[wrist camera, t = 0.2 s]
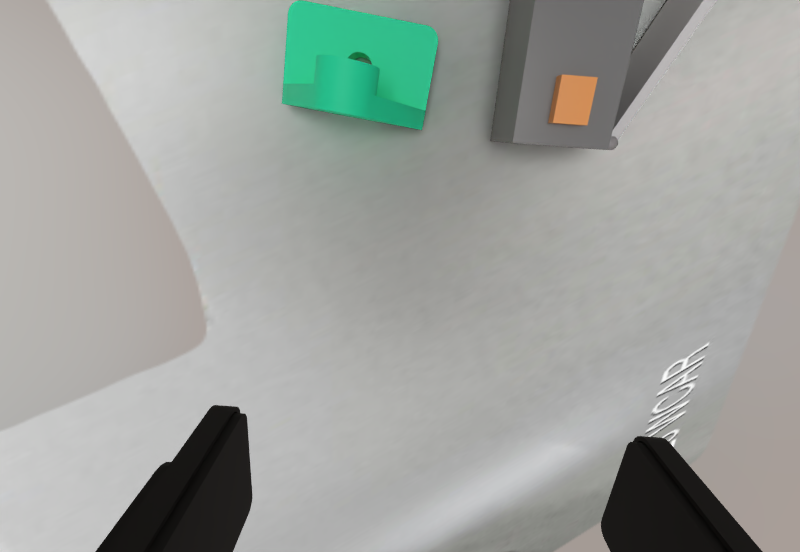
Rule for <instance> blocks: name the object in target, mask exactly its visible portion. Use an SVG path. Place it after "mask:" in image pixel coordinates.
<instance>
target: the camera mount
mask: <svg viewBox="0 0 800 552" xmlns="http://www.w3.org/2000/svg"><path fill="white" fill-rule="evenodd" d="M437 45H438V36H437V33H436V32H435V30H434V29H433V28H432V27H430V26H427V25H422V24H417V23H412V22H407V21H402V20H397V19H392V18H387V17H382V16H377V15H372V14H367V13H362V12H357V11H352V10H347V9H342V8H337V7H332V6H327V5H322V4H317V3H312V2H307V1H302V0H300V1H296V2H294V3H293V4H292V5H291V6H290V8H289V11H288V23H287V38H286V52H285V67H284V82H283V97H282V104H287V105H292V106H297V107H302V108H308V109H313V110H318V111H323V112H329V113H333V114H339V115H344V116H349V117H354V118H360V119H365V120H370V121H376V122H381V123H387V124H392V125H398V126H403V127H408V128H413V129H419V130H422V127H423V122H424V116H425V111H426V105H427V100H428V94H429V89H430V84H431V78H432V73H433V67H434V62H435V56H436V51H437ZM360 57H363V58H366V59H368V60H370V61H371V63H372V65H371V64H368V63H364V62H361V61H357V60H355V59H357V58H360Z"/></svg>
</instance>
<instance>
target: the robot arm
mask: <svg viewBox="0 0 800 552" xmlns="http://www.w3.org/2000/svg"><path fill="white" fill-rule="evenodd" d="M251 503H252V485H251V470H250V456H249V441H248V427H247V416H246V414H241V413H240V409H239V408H238V407H232V406H218V405H214V406H212V407H211V408H210V409H209V411H208V412H207V413H206V415H205V416H204V418H203V419H202V420H201V422H200V423H199V425H198V426H197V427H196V429H195V430H194V432H193V433H192V434H191V436H190V437H189V439H188V440H187V441H186V443H185V444H184V446H183V447H182V448H181V450H180V451H179V453H178V454H177V455H176V457H175V458H174V459H173V461H172V462H165V463H164V464H162V465H161V466H160V467H159V468H158V469H157V470H156V471H155V473H154V474H153V475H152V477H151V478H150V479H149V481H148V482H147V483H146V485H145V486H144V487H143V489H142V490H141V491H140V493H139V494H138V495H137V497H136V498H135V499H134V501H133V502H132V503H131V505H130V506H129V507H128V509H127V510H126V511H125V513H124V514H123V516H122V517H121V518H120V520H119V521H118V522H117V524H116V525H115V526H114V528H113V529H112V530H111V532H110V533H109V534H108V536H107V537H106V538H105V540H104V541H103V542H102V544H101V545H100V546H99V548H98V549H97V550H96V552H233V550H234V547H235V545H236V543H237V540H238V538H239V535H240V533H241V531H242V528H243V526H244V523H245V521H246V519H247V516H248V514H249V511H250V507H251ZM601 529H602V534H603V537H604V539H605V541H606V543H607V545H608V547H609V549H610V551H611V552H762V551H761V550H760V548H759V547H758V546H757V545H756V544H755V543H754V541H753V540H752V539H751V538H750V537H749V535H748V534H747V533H746V532H745V531H744V530H743V528H742V527H741V526H740V525H739V524H738V523H737V521H736V520H735V519H734V518H733V517H732V516H731V514H730V513H729V512H728V511H727V510H726V509H725V507H724V506H723V505H722V504H721V503H720V501H719V500H718V499H717V498H716V497H715V496H714V494H713V493H712V492H711V491H710V490H709V488H707V486H706V485H705V484H704V483H703V481H702V480H701V479H700V478H699V477H698V476H697V474H696V473H695V472H694V471H693V470H692V469H691V467H690V466H689V465H688V464H687V463H686V462H685V460H684V459H683V458H682V457H681V456H680V454H679V453H678V452H677V451H676V450H675V449H674V447H673V446H672V445H671V444H670V443H669V442H668V441H667V440H666V439H664V438H657V437H643V436H638V437H636V438H635V439H634V441H633V442H630V443H629V444H628V445H627V448H626V451H625V454H624V456H623V459H622V462H621V465H620V468H619V471H618V474H617V477H616V480H615V482H614V485H613V488H612V491H611V494H610V497H609V500H608V503H607V506H606V509H605V511H604V514H603V517H602V521H601Z"/></svg>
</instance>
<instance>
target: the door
mask: <svg viewBox="0 0 800 552" xmlns="http://www.w3.org/2000/svg"><path fill="white" fill-rule="evenodd" d="M716 1H717V0H667V2H666V3H665V4H664V6H663V7H662V9H661V10H660V12H659V13H658V15H657V16H656V18H655V19H654V21H653V22H652V24H651V25H650V27H649V28H648V30H647V31H646V33H645V34H644V36H643V37H642V39H641V40H640V42H639V43H638V45H637V46H636V48H635V49H634V51H633V52H632V54H631V56H630V60H629V65H628V69H627V73H626V77H625V81H624V85H623V90H622V94H621V98H620V102H619V106H618V110H617V115H616V119H615V123H614V127H613V131H612V136H611V140H610V144H609V148H608V150H613V149H614V148H616V146H617V145H618V140H619V138H620V137H621V135H622V134H623V132H624V131H625V130H626V128H627V127H628V125H629V124H630V123H631V121H632V120H633V118H634V117H635V116H636V114H637V113H638V111H639V110H640V108H641V107H642V106H643V104H644V103H645V101H646V100H647V99H648V97H649V96H650V94H651V93H652V91H653V90H654V89H655V87H656V86H657V84H658V83H659V82H660V80H661V79H662V77H663V76H664V75H665V73H666V72H667V70H668V69H669V67H670V66H671V65H672V63H673V62H674V60H675V59H676V58H677V56H678V55H679V53H680V52H681V51H682V49H683V48H684V46H685V45H686V43H687V42H688V41H689V39H690V38H691V36H692V35H693V34H694V32H695V31H696V29H697V28H698V26H699V25H700V24H701V22H702V21H703V19H704V18H705V17H706V15H707V14H708V12H709V11H710V10H711V8H712V7H713V5H714V4H715V2H716Z"/></svg>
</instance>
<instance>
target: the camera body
mask: <svg viewBox="0 0 800 552" xmlns="http://www.w3.org/2000/svg"><path fill="white" fill-rule="evenodd" d="M643 2H644V0H510V6H509V13H508V20H507V27H506V34H505V41H504V48H503V55H502V62H501V69H500V77H499V84H498V91H497V98H496V105H495V112H494V119H493V126H492V133H491V140H490V141H497V142H509V143H521V144H535V145H548V146H561V147H575V148H588V149H602V150H608V148H609V144H610V140H611V136H612V131H613V127H614V123H615V119H616V115H617V110H618V106H619V102H620V98H621V94H622V90H623V85H624V81H625V77H626V73H627V69H628V65H629V60H630V56H631V52H632V48H633V44H634V40H635V35H636V31H637V27H638V23H639V19H640V15H641V10H642V6H643Z"/></svg>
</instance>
